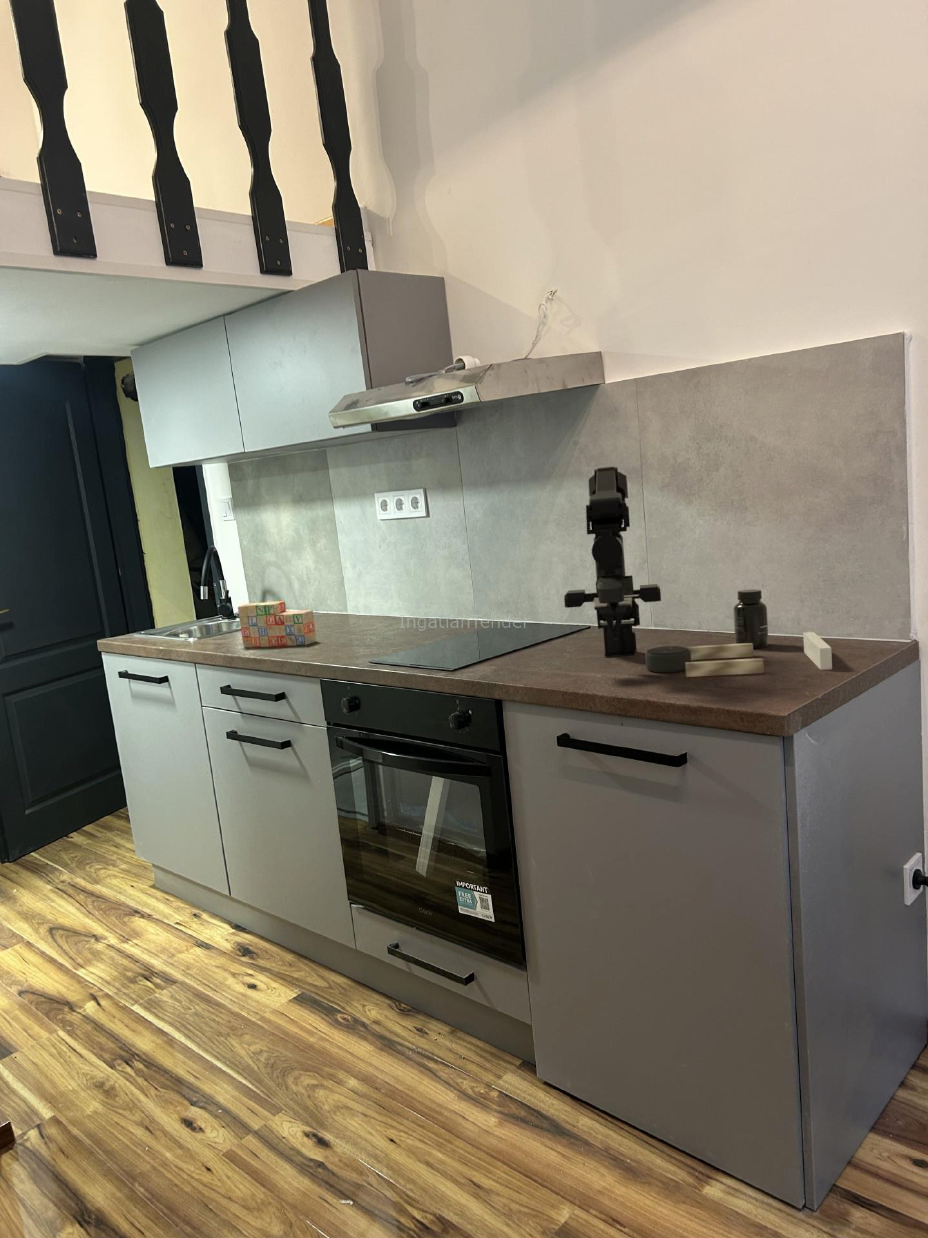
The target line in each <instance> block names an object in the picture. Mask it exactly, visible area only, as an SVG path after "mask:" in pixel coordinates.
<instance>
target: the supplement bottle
mask: <svg viewBox="0 0 928 1238" xmlns="http://www.w3.org/2000/svg"><path fill="white" fill-rule="evenodd" d="M737 600H738V603H736V604H735V605H734V606H733V626H734V628H733V629H734V644H744V643H752V644H753V650H754V649H761V648H765V647H767V646H768V645H769V630H768V628H769V626H768V625H769V624H768V607H767V605H766V603H764V602H763V601H762V600H763V596H762V590H761V589H743V590H738V591H737Z"/></svg>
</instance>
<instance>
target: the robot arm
mask: <svg viewBox="0 0 928 1238" xmlns="http://www.w3.org/2000/svg"><path fill="white" fill-rule="evenodd" d="M618 469H619V468H618V467H615V466H606V467H597V468H595V469H594V471H593V472H594V474H593V475H592V476H591V477H589V478H588V491H589V492H588V493H589V501H588V504H586V505H585V515H586V516H585V517H586V521H585V522H586V534H587V535H588V536H589V535H595V536H594V538H593V544H592V546H591V556H592V558H593V560H594V561H595V564H594V565H595V575H596V576H595V579H596V581H595V590H596V592H586V589H584V588H583V589H575V590H574V589H573V590H572V589H571V590H568V591H566V593H565V594H564V596H563V597H564V598H563V600H564V601H563V602H564V608H567V609H569V608H570V609H571V608H580V607H582V606H583V604H584V603H593V604H594V608H593V609H594V610H595V611H596V621H597V622H596V623H597V629H598V630H600V629H602V631H603V645H604V653H603V656H604V657H607V658H608V657H622V656H634V655H635V652H637V649H638V648H637V637H636V635H637V634H636V630H633V627H638V626H640V625H641V621H640V620H641V619H640V607H639V606H640V605H639V604H638V603H637V601H636V600H637V599H639V600H640V599H641V601H642V602H644V603H654V602H661V601H662V595H661V594H662V593H661V587H660V586H659V584H657V583H654V584H640V585H639V589H634V579H633V575H626V563H625V549H624V548H625V547H624V537H623V536H622V534H621V532H623V533H624V532H627V531H628V528H630V526H631V524H630V522H631V521H630V512H629V511H630V509H629V506H628V505H627V502H626V499H629V487H628V477H627V475H625V474H624V473H622V472H620V471H619V470H618Z"/></svg>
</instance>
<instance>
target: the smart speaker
mask: <svg viewBox="0 0 928 1238" xmlns="http://www.w3.org/2000/svg"><path fill="white" fill-rule="evenodd" d="M685 647H686V646H680V645H679V646H678V645H677V646H676V645H668V646H667V645H666V646H658V647H654V648H653V647H652V648H650V649H648V650H646V652H645V654H644V659H645V660H644V661H645V668H646V669H647V670H648V671H650V672H653V673H659V674H660V673H661V674H662V673H665V674H666V673H668V674H669V673H679V672H683V671H686V665H685V662H692V660H691V652H690V650H689V649H688V648H685Z"/></svg>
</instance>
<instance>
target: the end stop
mask: <svg viewBox="0 0 928 1238" xmlns="http://www.w3.org/2000/svg"><path fill="white" fill-rule="evenodd" d="M802 633H803V635H802V636H803V652H804V654H805V655H806V656H807V657H808V658H809V659H810V660H811V661H812V662H813V664H814V665H816V667H817V669H819V670H821V671H822V670H823V671H824V670H825V671H826V670H827V671H829V670H833V660H832V659H833V658H832V657H833V656H832V647H831V646H830V645H829V644H828V643H827V642H825V641H824V640H823V639H822V638H821V637H820V636H819V635H818V634H816V633H815V632H814V631H808V632H802Z"/></svg>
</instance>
